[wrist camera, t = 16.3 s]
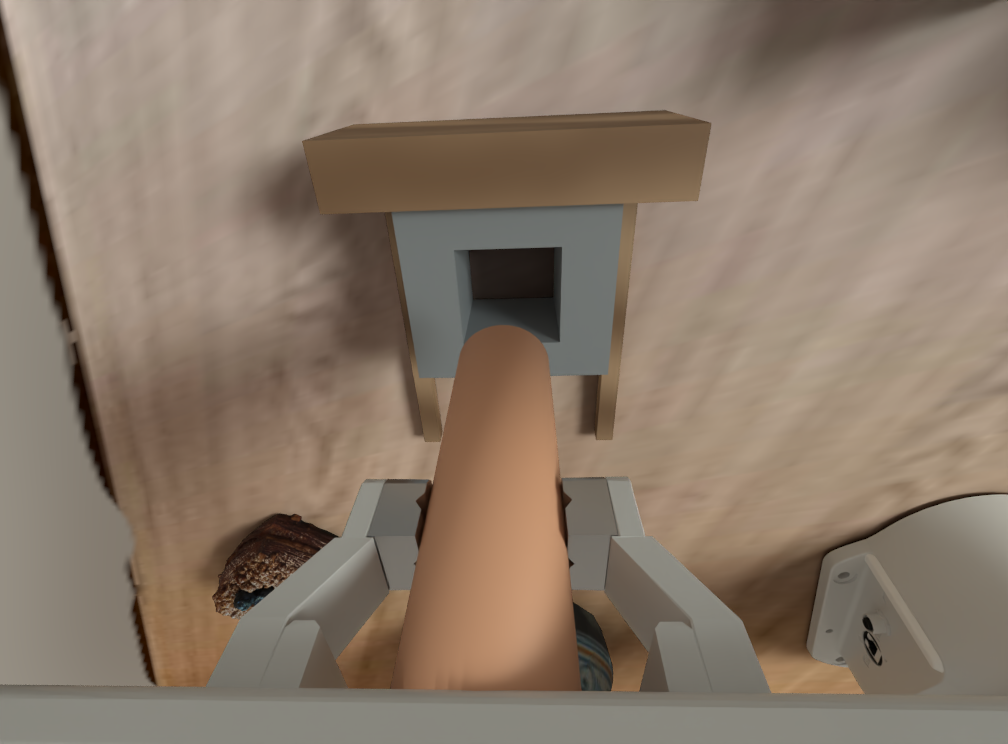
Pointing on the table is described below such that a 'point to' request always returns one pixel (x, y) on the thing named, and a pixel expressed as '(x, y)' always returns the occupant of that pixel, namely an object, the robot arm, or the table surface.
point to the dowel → (494, 535)
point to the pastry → (266, 562)
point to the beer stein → (592, 653)
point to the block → (554, 321)
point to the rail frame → (513, 187)
